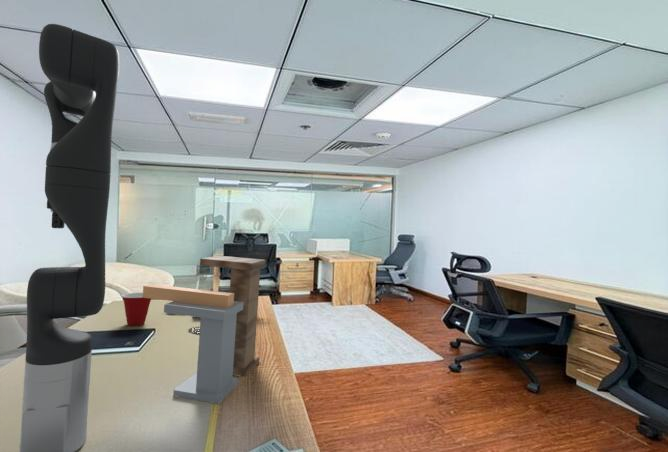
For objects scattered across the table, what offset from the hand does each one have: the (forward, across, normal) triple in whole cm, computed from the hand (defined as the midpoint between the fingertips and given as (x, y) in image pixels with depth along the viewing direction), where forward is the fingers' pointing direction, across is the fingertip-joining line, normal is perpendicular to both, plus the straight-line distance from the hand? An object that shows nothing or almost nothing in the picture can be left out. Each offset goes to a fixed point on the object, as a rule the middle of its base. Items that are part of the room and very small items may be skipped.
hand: (65, 228), depth 79 cm
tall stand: (+40, +3, -40) cm, 56 cm away
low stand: (+40, -9, -33) cm, 53 cm away
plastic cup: (+37, +48, -7) cm, 61 cm away
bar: (+18, -7, -29) cm, 35 cm away
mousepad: (+39, +35, -34) cm, 63 cm away
